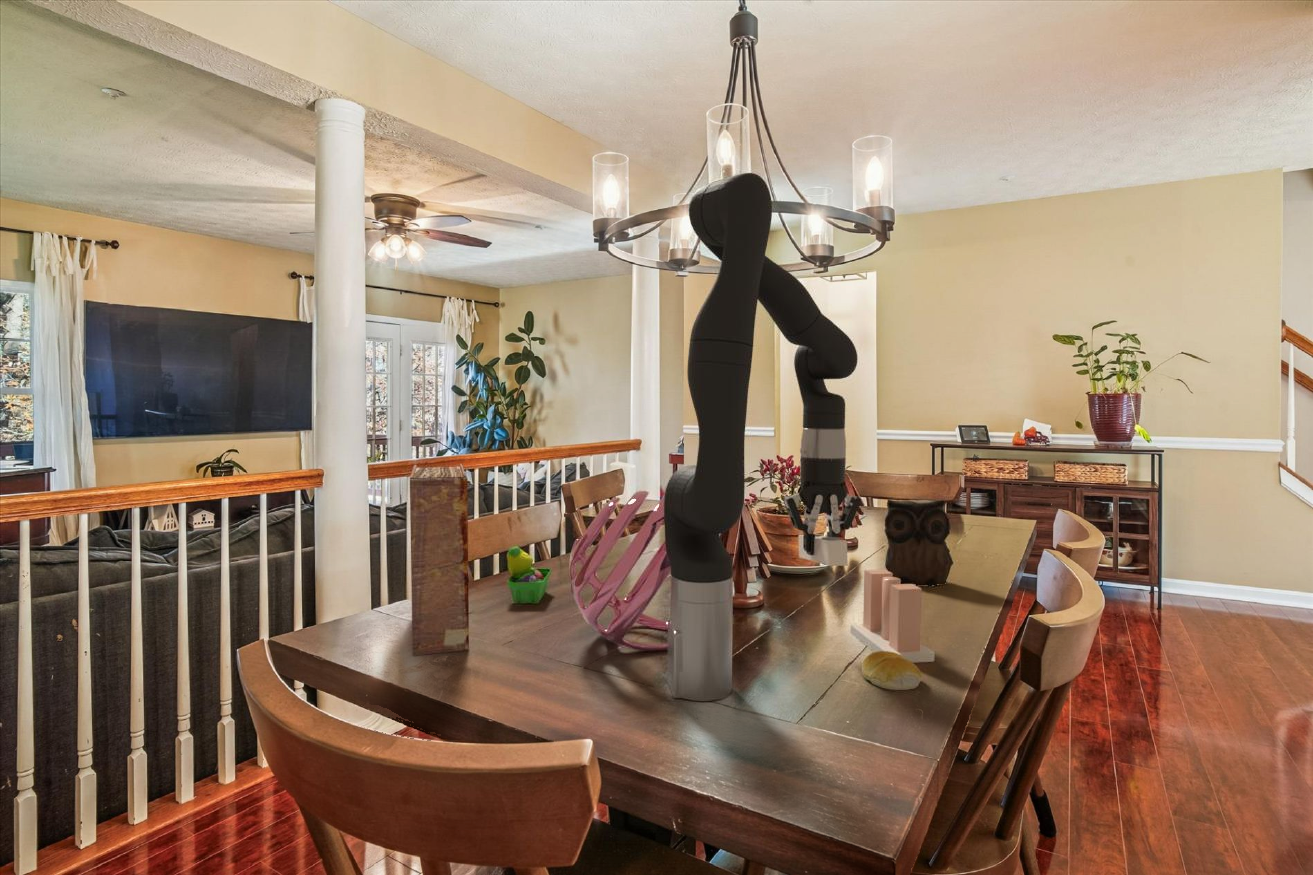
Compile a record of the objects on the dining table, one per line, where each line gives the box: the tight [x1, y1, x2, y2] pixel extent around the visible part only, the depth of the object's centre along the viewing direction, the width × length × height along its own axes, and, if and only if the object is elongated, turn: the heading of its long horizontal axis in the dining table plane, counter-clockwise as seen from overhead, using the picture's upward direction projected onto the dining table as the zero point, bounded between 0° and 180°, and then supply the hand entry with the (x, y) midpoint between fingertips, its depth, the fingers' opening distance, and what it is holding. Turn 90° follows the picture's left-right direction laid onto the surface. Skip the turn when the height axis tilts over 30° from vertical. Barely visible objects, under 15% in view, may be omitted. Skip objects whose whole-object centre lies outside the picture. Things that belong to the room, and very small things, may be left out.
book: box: [409, 463, 470, 656], centre depth 127 cm, size 25×9×30 cm, turn 18°
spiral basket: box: [568, 490, 671, 652], centre depth 122 cm, size 28×28×27 cm
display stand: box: [849, 568, 935, 664], centre depth 120 cm, size 15×8×12 cm, turn 8°
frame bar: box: [798, 533, 849, 567], centre depth 118 cm, size 14×3×4 cm, turn 8°
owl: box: [884, 498, 954, 587], centre depth 162 cm, size 13×13×20 cm
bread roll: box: [861, 651, 923, 691], centre depth 106 cm, size 8×9×4 cm
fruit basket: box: [506, 546, 552, 605], centre depth 148 cm, size 11×9×11 cm
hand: (820, 553), depth 118 cm, fingers closed on frame bar, 3 cm apart
